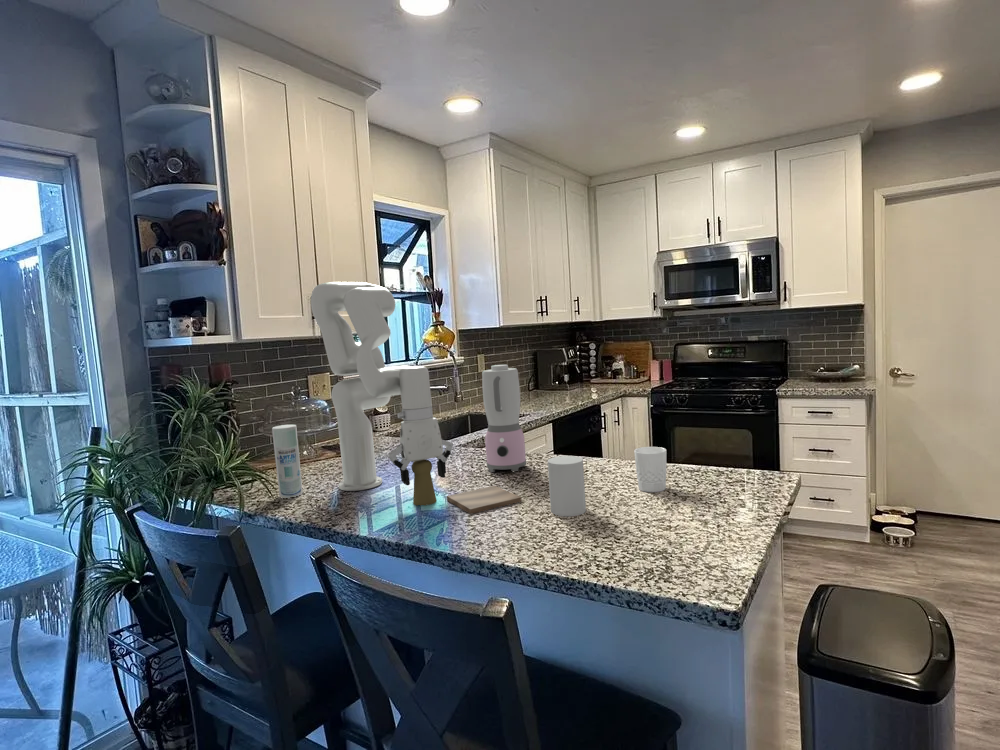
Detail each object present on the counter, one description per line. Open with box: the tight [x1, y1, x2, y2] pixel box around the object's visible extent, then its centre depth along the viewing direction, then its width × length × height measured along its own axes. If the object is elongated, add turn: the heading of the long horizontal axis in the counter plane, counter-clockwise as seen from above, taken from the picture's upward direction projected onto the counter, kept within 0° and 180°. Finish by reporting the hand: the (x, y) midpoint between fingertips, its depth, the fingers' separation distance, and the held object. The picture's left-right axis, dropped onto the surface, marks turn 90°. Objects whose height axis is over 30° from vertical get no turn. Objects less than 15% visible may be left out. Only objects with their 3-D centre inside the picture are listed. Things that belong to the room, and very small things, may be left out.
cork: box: [411, 459, 437, 506], centre depth 148 cm, size 6×6×11 cm
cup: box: [547, 455, 587, 517], centre depth 133 cm, size 8×8×12 cm
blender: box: [481, 364, 527, 473], centre depth 175 cm, size 16×12×32 cm
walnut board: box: [446, 485, 522, 515], centre depth 145 cm, size 14×14×1 cm
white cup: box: [633, 446, 667, 493], centre depth 146 cm, size 8×8×10 cm
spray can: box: [271, 424, 304, 499], centre depth 164 cm, size 6×6×20 cm
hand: (424, 480), depth 148 cm, fingers open, 9 cm apart
